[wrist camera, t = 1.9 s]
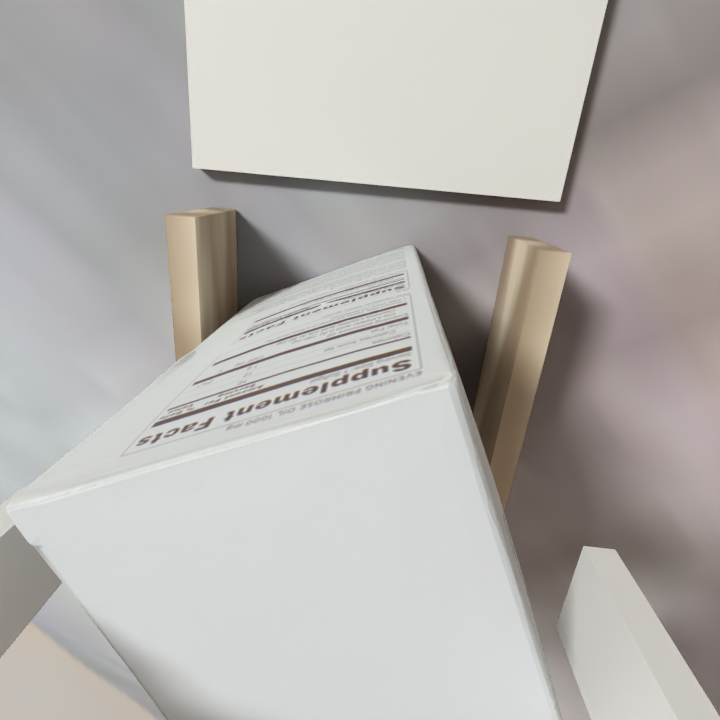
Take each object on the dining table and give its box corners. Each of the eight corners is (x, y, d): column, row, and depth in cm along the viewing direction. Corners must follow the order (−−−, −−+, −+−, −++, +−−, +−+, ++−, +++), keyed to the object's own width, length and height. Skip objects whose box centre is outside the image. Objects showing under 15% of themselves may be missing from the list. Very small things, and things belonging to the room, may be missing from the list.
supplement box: (465, 401, 25) (580, 753, 10) (314, 443, 27) (209, 800, 12) (414, 236, 22) (464, 368, 7) (248, 295, 24) (-22, 512, 8)
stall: (533, 238, 22) (572, 253, 17) (478, 485, 27) (495, 547, 23) (212, 207, 22) (164, 214, 18) (221, 456, 28) (187, 511, 23)
